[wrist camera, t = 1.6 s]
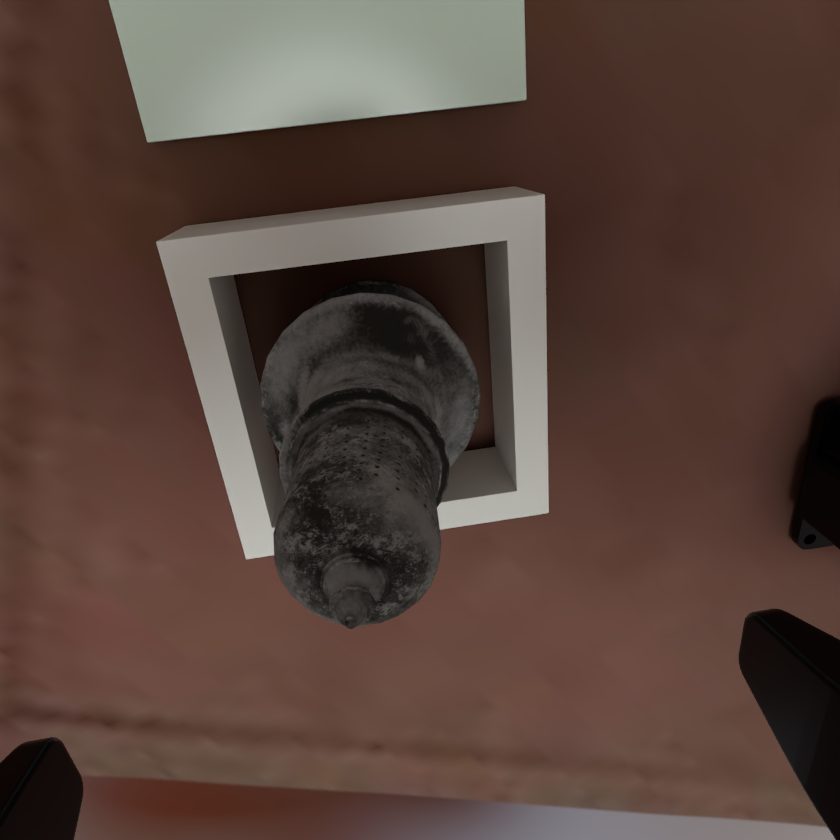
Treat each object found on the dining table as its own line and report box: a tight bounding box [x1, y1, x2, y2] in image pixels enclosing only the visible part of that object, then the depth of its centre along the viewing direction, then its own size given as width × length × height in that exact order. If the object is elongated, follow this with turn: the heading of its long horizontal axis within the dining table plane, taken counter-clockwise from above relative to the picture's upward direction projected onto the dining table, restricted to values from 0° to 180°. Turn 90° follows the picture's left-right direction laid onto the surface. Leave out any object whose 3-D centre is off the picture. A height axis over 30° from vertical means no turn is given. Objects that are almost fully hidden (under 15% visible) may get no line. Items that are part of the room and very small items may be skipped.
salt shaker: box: [260, 280, 480, 629], centre depth 14 cm, size 6×6×12 cm
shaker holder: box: [156, 186, 549, 559], centre depth 18 cm, size 10×10×3 cm
